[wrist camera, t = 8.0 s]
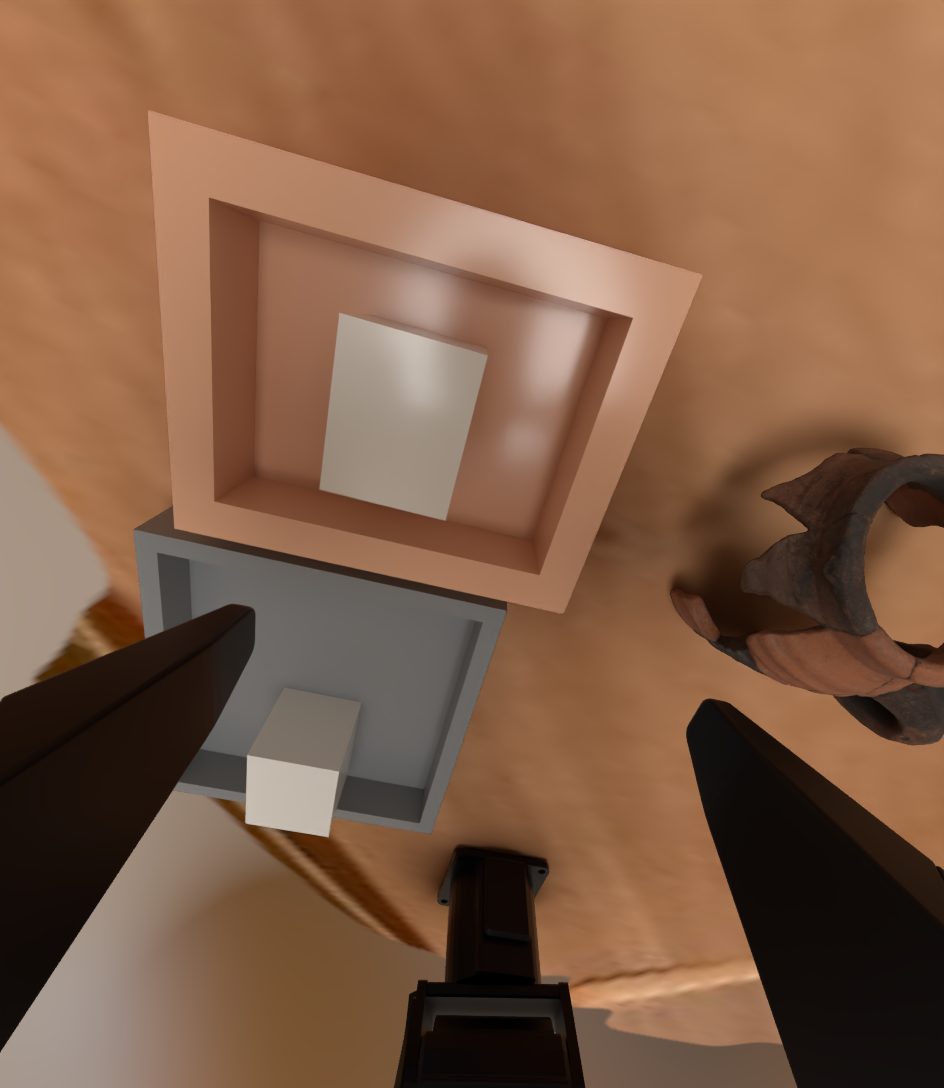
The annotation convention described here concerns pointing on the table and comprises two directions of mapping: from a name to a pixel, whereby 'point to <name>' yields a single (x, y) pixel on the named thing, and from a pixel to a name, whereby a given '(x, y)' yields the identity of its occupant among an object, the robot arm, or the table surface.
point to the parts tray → (331, 663)
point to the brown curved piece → (843, 595)
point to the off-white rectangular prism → (301, 762)
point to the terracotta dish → (413, 299)
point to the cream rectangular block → (399, 413)
